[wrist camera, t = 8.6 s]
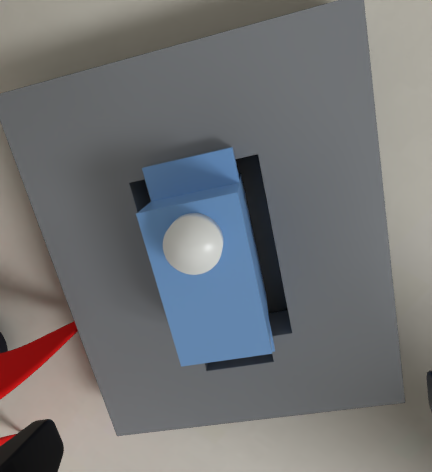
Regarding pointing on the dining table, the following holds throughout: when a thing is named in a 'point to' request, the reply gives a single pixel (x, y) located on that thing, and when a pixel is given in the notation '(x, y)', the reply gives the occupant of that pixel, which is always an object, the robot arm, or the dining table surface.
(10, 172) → the dining table surface
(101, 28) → the dining table surface
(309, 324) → the plate
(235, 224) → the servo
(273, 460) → the dining table surface
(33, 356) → the rocket
